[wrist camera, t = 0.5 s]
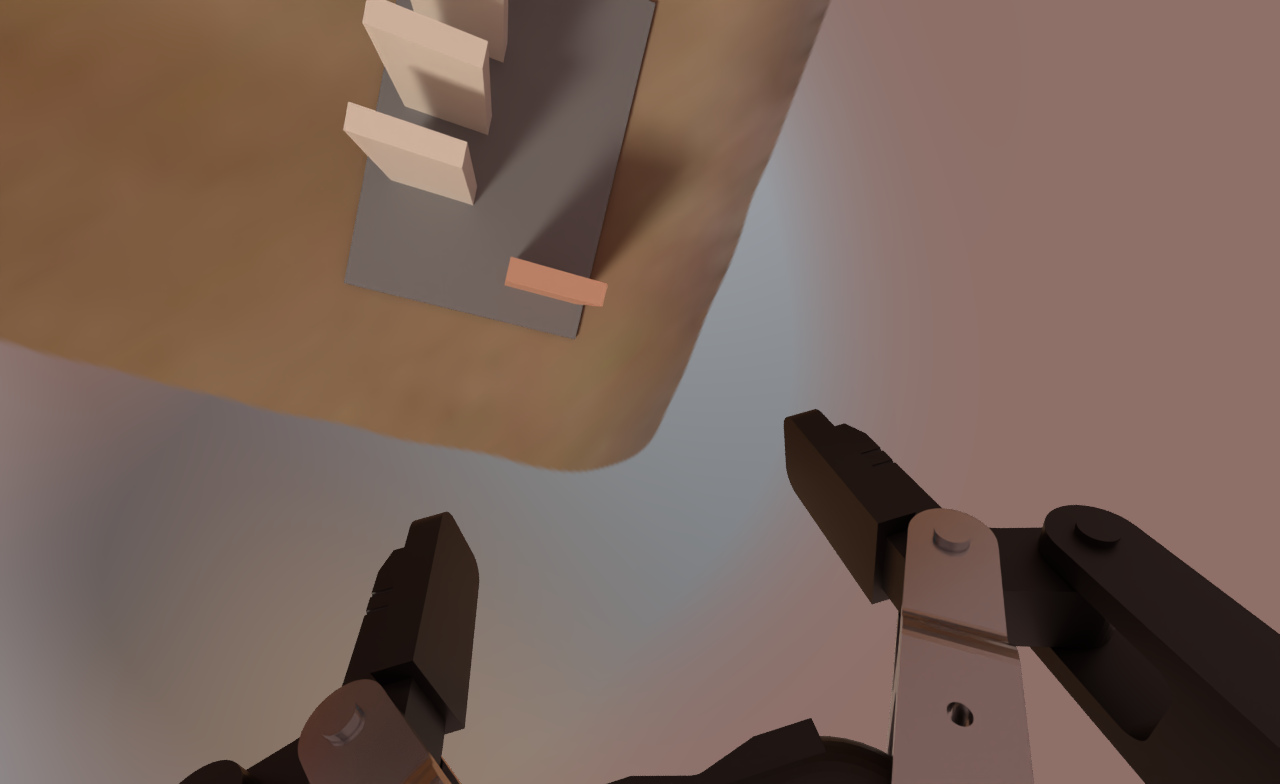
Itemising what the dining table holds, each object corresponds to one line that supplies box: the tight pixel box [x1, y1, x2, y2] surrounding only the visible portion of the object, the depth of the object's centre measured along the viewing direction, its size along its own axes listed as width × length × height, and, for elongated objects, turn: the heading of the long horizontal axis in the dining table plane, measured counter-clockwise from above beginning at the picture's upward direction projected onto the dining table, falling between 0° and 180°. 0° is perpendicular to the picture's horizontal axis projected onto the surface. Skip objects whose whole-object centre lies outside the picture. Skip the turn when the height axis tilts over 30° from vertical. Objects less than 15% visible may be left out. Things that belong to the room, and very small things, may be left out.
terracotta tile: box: [505, 257, 608, 307], centre depth 30 cm, size 1×5×10 cm, turn 75°
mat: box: [344, 0, 656, 339], centre depth 33 cm, size 23×15×1 cm, turn 165°
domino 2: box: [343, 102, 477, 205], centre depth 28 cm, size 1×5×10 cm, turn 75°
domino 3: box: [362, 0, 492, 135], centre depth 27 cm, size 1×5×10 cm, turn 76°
